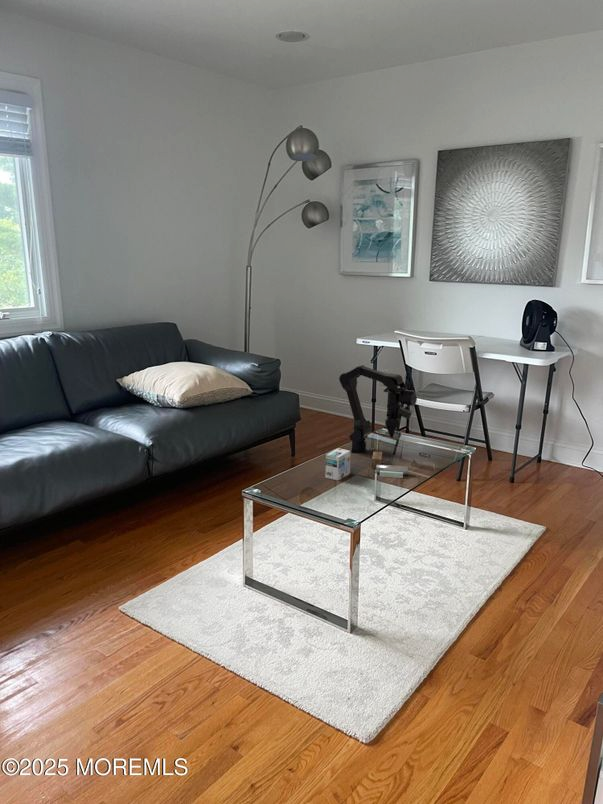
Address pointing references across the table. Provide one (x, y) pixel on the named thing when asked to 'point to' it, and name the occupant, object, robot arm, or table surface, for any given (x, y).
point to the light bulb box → (338, 464)
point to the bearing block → (376, 459)
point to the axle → (392, 468)
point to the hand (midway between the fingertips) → (392, 434)
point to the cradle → (391, 474)
